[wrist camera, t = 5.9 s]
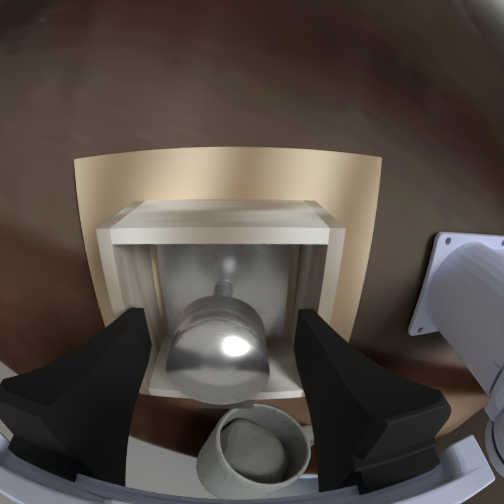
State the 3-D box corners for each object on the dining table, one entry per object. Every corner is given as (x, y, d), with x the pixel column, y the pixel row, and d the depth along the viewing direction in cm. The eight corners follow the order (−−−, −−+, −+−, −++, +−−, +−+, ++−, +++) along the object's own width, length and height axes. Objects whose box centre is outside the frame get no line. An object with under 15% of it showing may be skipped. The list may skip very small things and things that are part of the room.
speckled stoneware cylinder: (194, 437, 23) (190, 505, 16) (216, 393, 20) (215, 481, 13) (292, 449, 25) (303, 509, 18) (332, 409, 22) (354, 480, 15)
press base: (376, 156, 13) (432, 169, 9) (339, 359, 19) (359, 412, 14) (79, 158, 13) (22, 173, 8) (120, 358, 18) (99, 410, 14)
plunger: (290, 224, 14) (327, 293, 8) (281, 331, 16) (299, 421, 10) (157, 224, 14) (104, 291, 8) (171, 330, 16) (147, 418, 10)
